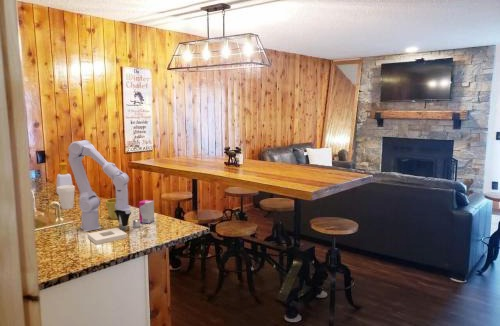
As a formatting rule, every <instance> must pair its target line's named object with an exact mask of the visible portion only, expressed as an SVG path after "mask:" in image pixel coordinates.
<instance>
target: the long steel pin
mask: <svg viewBox="0 0 500 326" xmlns="http://www.w3.org/2000/svg"><path fill="white" fill-rule="evenodd" d="M118 225H119V226H118V227H119V229H120V230H122V231H123V232H125V231H127V230H128V225H127V226H122V221H121V217H120V215H119V222H118Z"/></svg>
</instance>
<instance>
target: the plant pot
mask: <svg viewBox="0 0 500 326" xmlns="http://www.w3.org/2000/svg"><path fill="white" fill-rule="evenodd" d="M115 204H116V197H115V198H114V197H113V198H109V199H106V200H105V207H106V208H107V211H108V212H107V213H108V215H109V216H108V217H109V219H111V220H118V218H117V215H116V214H115V212H114V211H115V210H117V209H116V208H115Z"/></svg>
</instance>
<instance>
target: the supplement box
mask: <svg viewBox="0 0 500 326" xmlns="http://www.w3.org/2000/svg"><path fill="white" fill-rule="evenodd" d="M138 210H139V211H138V213H139V214H138V216H139V217H138V219H140V224H144V225H146V224H147V225H150V224H152V223H154V222H155V201H154V200H153V199H152V200H151V199H144V200H141V201H139V202H138Z"/></svg>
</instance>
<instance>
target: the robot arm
mask: <svg viewBox="0 0 500 326" xmlns="http://www.w3.org/2000/svg"><path fill="white" fill-rule="evenodd" d="M67 149H68V164H69V166H70V168H71V171H72V174H73V177H74V181H75V183H76V185H77V188H78V191H79V194H80V195H79V197H78V202H79V206H78V207H79V210H81V215H80V216H81V225H80V226H79V228H80V229H82V230H83V231H85V232H90V231H96V230H100V229H103V227H102V226H101V225H100V218H99V207H100V206H101V199H100V198H99V196H98V195H97V193H96V192H95V191H93V189H92V187H91V184H90V180H89V179H88V175H87V173H86V170H85V167H84V164H83V159H84V157H86V156H87V157H90V159H91V158H92V160H94V161H95V162H96V163H97V164H99V166H100V167H102V171H103V172H104V174H106V175H107V176H108V178H110V179H111V180H112V184H113V185H114V188H115V198H116V204H115V208H116V209H117V210H115V211H114V212H115V214H116V215H117V218H118V219H117V221H118V223H119V215H120V217H121V221H122V226H127V227H128V224H129V223H128V222H129V219H130V217H131V216H130V215H132V211H131V209H130V208H131V207H132V206H131V205H129V191H128V190H129V189H128V187H129V186H128V183H129V182H130V177H129V175H128V173H127V172H123V170H120V169H119V168H118V167H117V166H116V163H113V162H109V161H107V160H106V159H105V157H104V156H103V155H102V154H101V153H100V152H99V151H98V150H97V149H96V148H95V145H94V144H92V143H91V142H90V141H89V140H87V139H83V140H77V141H76V140H74V141H72V142H71V143H70V144H69V145H68V148H67Z"/></svg>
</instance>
